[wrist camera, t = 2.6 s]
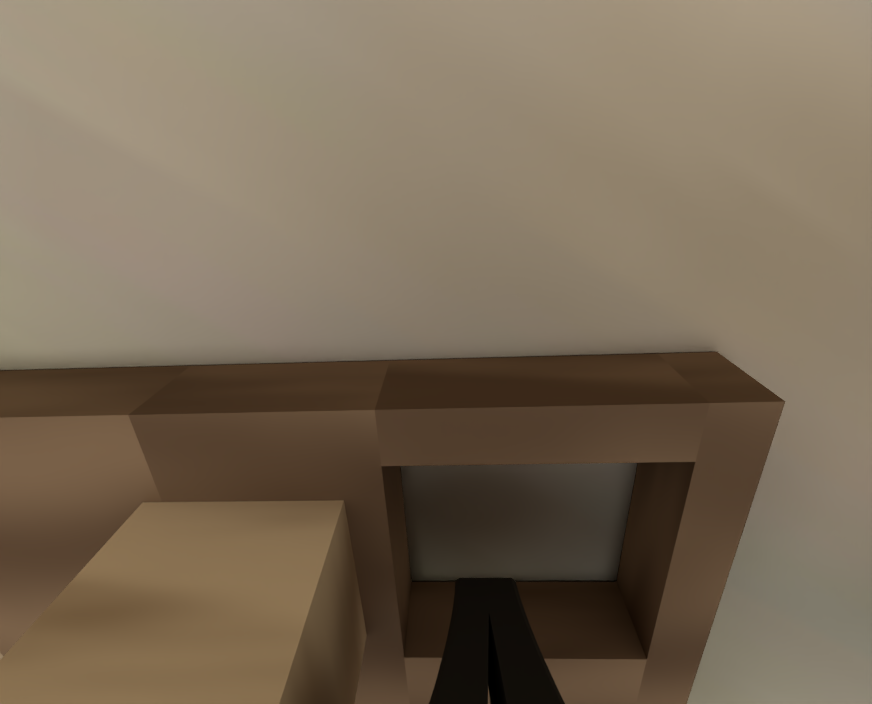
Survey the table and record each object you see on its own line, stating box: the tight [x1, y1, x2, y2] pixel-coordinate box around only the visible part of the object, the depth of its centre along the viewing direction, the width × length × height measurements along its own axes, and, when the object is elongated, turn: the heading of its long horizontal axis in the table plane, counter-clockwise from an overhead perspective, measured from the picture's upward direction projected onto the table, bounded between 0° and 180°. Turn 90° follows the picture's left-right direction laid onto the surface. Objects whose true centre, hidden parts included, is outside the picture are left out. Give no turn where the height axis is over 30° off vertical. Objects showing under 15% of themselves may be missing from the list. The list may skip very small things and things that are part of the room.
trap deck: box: [0, 352, 785, 704], centre depth 14 cm, size 18×27×4 cm, turn 93°
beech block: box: [0, 500, 367, 704], centre depth 9 cm, size 5×5×5 cm
